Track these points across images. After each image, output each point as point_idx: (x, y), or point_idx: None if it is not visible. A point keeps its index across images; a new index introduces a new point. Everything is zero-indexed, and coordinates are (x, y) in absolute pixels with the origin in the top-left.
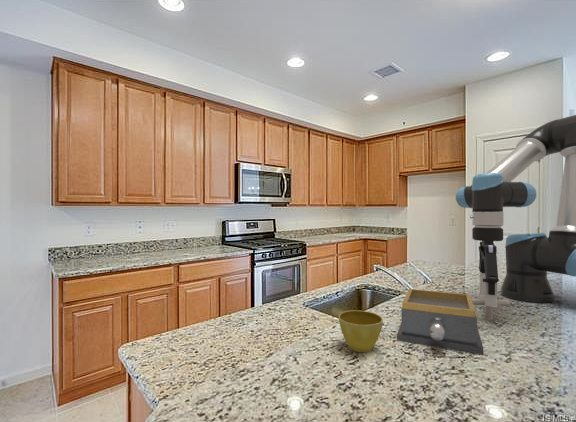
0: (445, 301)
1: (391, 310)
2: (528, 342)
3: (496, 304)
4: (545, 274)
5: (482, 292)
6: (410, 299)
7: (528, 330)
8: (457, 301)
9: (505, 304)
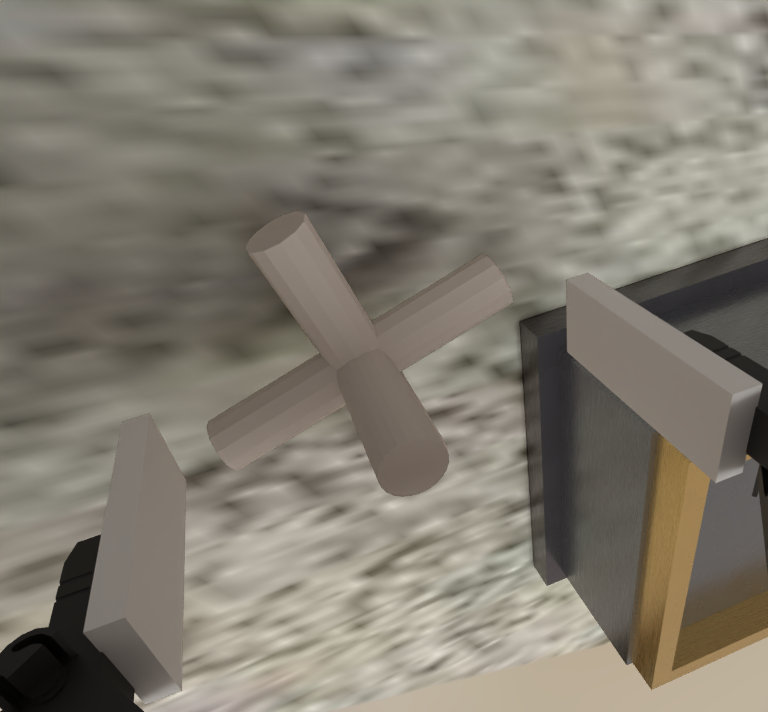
0: (734, 505)
1: (468, 636)
2: (657, 29)
3: (600, 287)
4: None
5: (176, 480)
6: (740, 603)
7: (416, 30)
8: None
9: (323, 246)
